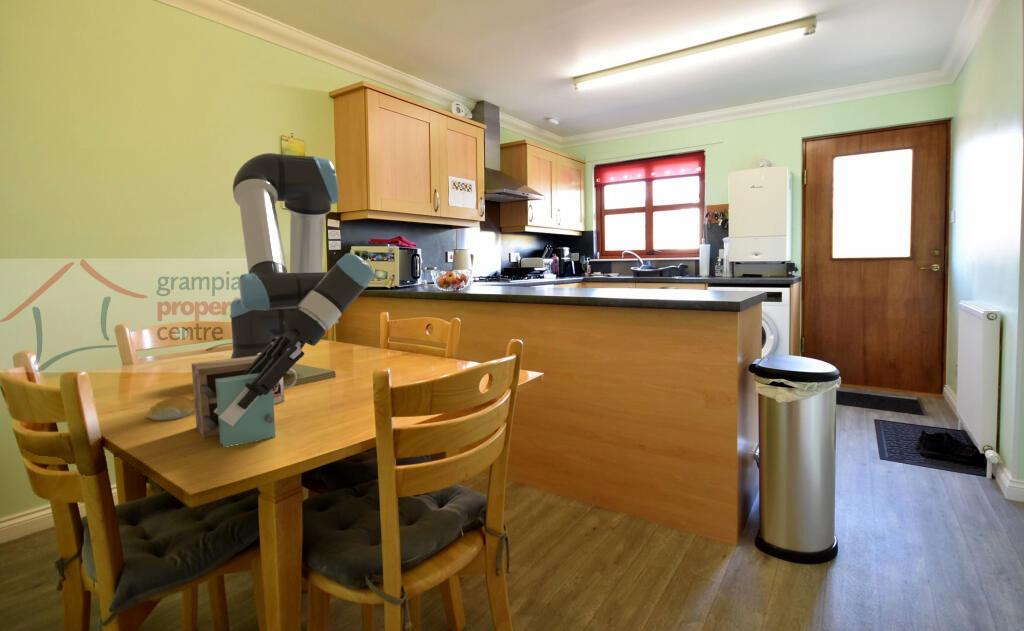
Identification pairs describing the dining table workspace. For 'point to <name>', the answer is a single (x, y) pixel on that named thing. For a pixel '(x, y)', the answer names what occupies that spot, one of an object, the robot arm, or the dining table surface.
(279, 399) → the teacup with lid
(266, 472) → the dining table surface
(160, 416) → the bread roll
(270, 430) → the door
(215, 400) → the cabinet
